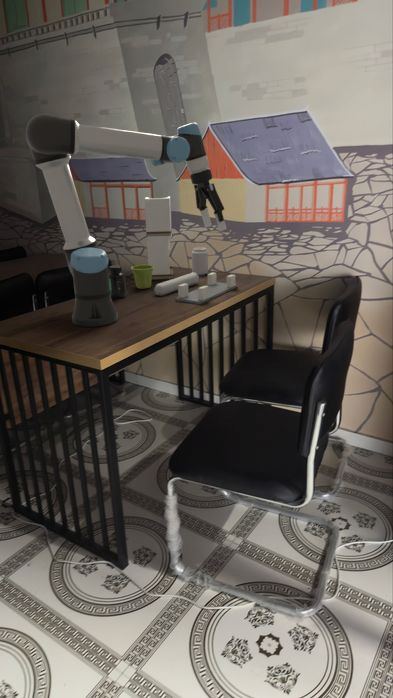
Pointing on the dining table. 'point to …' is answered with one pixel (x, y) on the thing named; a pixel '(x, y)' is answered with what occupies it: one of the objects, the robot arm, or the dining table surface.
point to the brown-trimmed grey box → (158, 236)
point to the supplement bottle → (117, 282)
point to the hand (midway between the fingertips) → (215, 228)
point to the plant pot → (143, 275)
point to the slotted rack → (206, 290)
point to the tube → (176, 284)
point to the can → (200, 261)
